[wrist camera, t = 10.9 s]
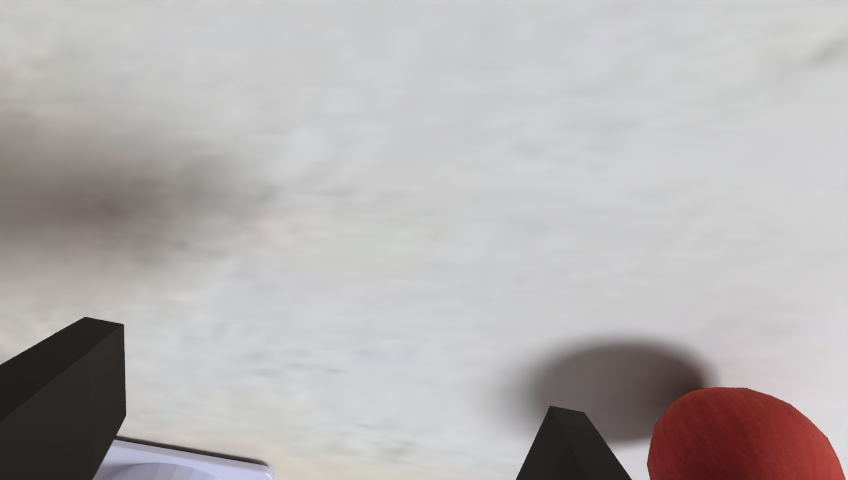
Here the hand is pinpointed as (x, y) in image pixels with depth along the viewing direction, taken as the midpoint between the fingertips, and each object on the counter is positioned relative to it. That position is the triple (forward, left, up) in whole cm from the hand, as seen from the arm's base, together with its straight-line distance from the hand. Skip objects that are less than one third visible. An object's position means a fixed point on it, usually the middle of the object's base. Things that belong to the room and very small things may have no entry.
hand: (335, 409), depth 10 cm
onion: (-6, -14, -10) cm, 18 cm away
